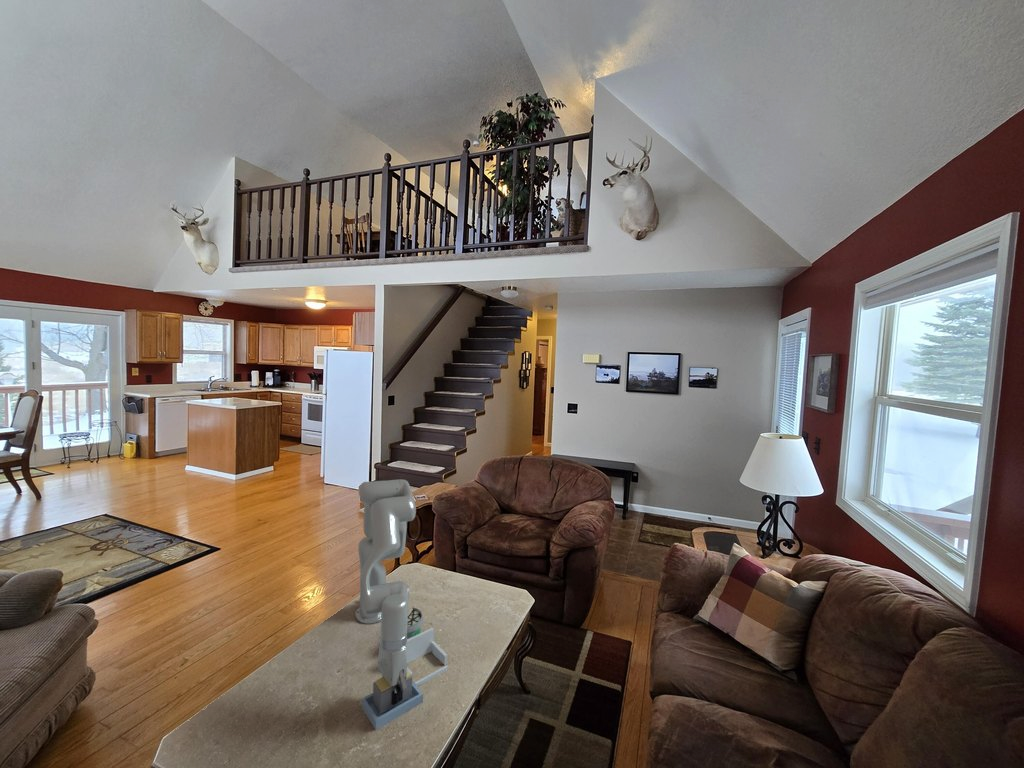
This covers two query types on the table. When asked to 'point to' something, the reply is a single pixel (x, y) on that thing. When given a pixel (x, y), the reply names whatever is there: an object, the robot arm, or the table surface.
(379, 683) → the yellow-topped block
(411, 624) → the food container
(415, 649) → the bay
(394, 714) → the tray
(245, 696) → the table surface
